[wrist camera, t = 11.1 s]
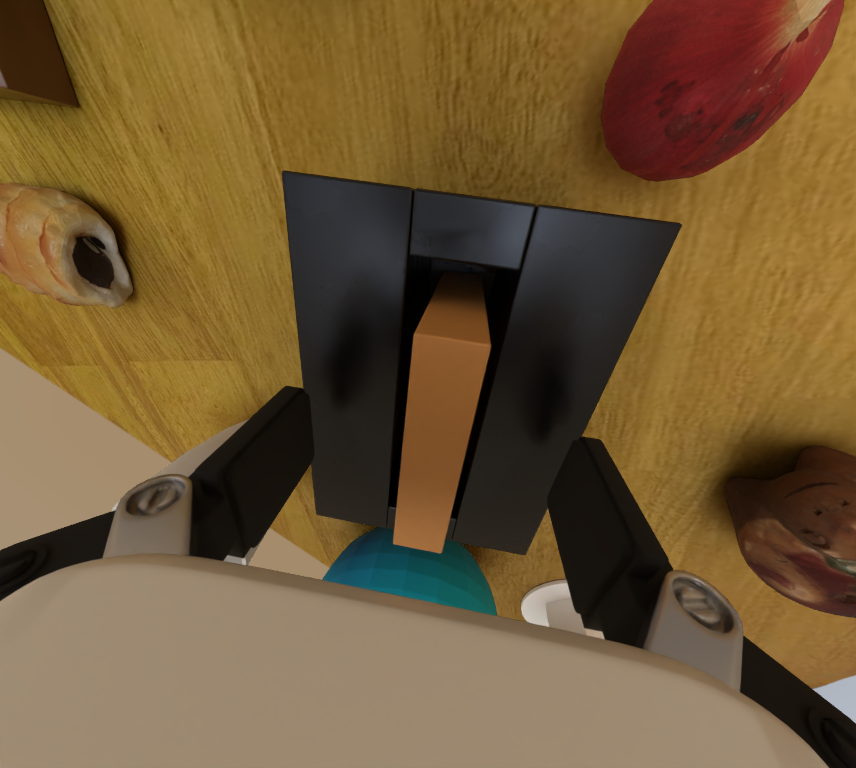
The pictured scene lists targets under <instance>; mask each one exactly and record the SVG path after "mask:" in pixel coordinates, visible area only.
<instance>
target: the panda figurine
mask: <svg viewBox="0 0 856 768" xmlns="http://www.w3.org/2000/svg"><path fill="white" fill-rule="evenodd" d="M521 611H522V614H523V616H524V618H525V619H526V621H527V622H529V623H533V624H538V625H542V626H547V627H552V628H557V629H561V630H566V631H570V632H574V633H579V634H583V635H587V636H592V637H596V638H600V639H604V636H603V633H602V632H601V631H596V630H591V629H586V628H584V626H583V623H582V619H581V615H580V614H577V613H576V611H575V610H574V607H573V603H572V600H571V596H570V592H569V588H568V584H567V580H557V581H552V582H548V583H544V584H541V585H539V586H537V587H535V588H533V589H531V590H530V591H529V592H528V593H526V594H525V596H524V597H523V599H522V601H521Z"/></svg>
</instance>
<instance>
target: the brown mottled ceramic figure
mask: <svg viewBox="0 0 856 768" xmlns="http://www.w3.org/2000/svg"><path fill="white" fill-rule="evenodd" d="M724 496H725V499H726V502H727V505H728V508H729V511H730V515H731V518H732V522H733V526H734V529H735V533H736V537H737V541H738V545H739V548H740V550H741V553H742V555H743V557H744V559H745V561H746V563H747V564H748V565H749V567H750V568H751V569H752V571H753V572H754V573H755V574H756V575H757V576H758V577H759V578H760V579H761V580H763V581H764V582H765V583H766V584H767V585H768V586H770V587H771V588H773V589H774V590H776V591H777V592H778V593H780V594H781V595H783V596H785V597H787V598H789V599H791V600H793V601H795V602H797V603H799V604H801V605H804V606H807V607H809V608H812V609H815V610H818V611H822V612H825V613H829V614H834V615H840V616H846V617H854V618H856V457H854V456H852V455H850V454H848V453H845V452H842V451H839V450H835V449H832V448H829V447H824V446H810V447H806V448H805V449H803V450H802V451H801V453H800V454H799V457H798V460H797V464H796V467H795V471H794V472H790V473H787V474H785V475H783V476H781V477H779V478H777V479H775V480H758V479H751V478H744V477H734V478H731V479H728V480H727V481H726V483H725V485H724Z"/></svg>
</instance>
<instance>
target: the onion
mask: <svg viewBox="0 0 856 768" xmlns="http://www.w3.org/2000/svg"><path fill="white" fill-rule="evenodd" d="M843 8H844V0H653V1H652V2H651V4H650V5H649V6H648V7H647V9H646V10H645V11H644V12H643V14H642V15H641V16H640V17H639V18H638V20H637V21H636V22H635V23H634V25H633V26H632V27H631V28H630V30H629V31H628V33H627V35H626V37H625V40H624V42H623V45H622V47H621V50H620V52H619V54H618V57H617V59H616V61H615V64H614V66H613V68H612V70H611V73H610V75H609V77H608V80H607V82H606V85H605V92H604V99H603V106H602V113H601V122H602V127H603V133H604V138H605V143H606V147H607V149H608V150H609V152H610V153H611V154H612V156H613V157H614V159H615V160H616V161H617V163H618V164H619V166H620V167H621V169H623V170H625V171H628V172H630V173H632V174H634V175H636V176H638V177H641V178H643V179H645V180H649V181H664V180H672V179H680V178H688V177H693V176H696V175H699V174H701V173H704V172H707V171H709V170H710V169H712V168H714V167H716V166H717V165H719V164H721V163H723V162H724V161H726V160H728V159H730V158H731V157H733V156H735V155H737V154H738V153H740V152H742V151H744V150H745V149H746V148H748V147H749V146H750V145H751V144H753V143H754V142H755V141H757V140H758V139H759V138H760V137H761V136H762V135H763V134H764V133H765V132H766V131H767V130H768V129H769V128H770V127H771V126H772V125H773V124H774V123H775V122H776V121H777V120H778V119H779V118H780V117H781V116H782V115H783V114H784V113H785V112H786V111H787V110H788V109H789V108H790V107H791V106H792V105H793V104H794V103H795V102H796V101H797V99H798V98H799V97H800V96H801V95H802V94H803V92H804V91H805V89H806V88H807V86H808V85H809V83H810V81H811V80H812V78H813V77H814V75H815V73H816V72H817V70H818V68H819V67H820V65H821V64H822V62H823V61H824V59H825V57H826V56H827V54H828V52H829V50H830V49H831V47H832V44H833V41H834V37H835V34H836V31H837V27H838V24H839V21H840V17H841V14H842V11H843Z"/></svg>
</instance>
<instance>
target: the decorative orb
mask: <svg viewBox="0 0 856 768" xmlns="http://www.w3.org/2000/svg"><path fill="white" fill-rule="evenodd" d="M393 537H394V530H392V529H388V528H387V527H386V528H382V527H377V528H375V529H373V530H371V531H369V532H367V533H365V534H364V535H362V536H360V537H358V538H357V539H356V540H354V541H353V542H352V543H351V544H350V545H349V546H348V547H347V548H346V549H345V550H344V551H343V552H342V553H341V554H340V556H339V557H338V558H337V559H336V561H335V562H334V563H333V564H332V566H331V567H330V569H329V570H328V572H327V573H326V575H325V576H324V577H323V580H324V581H329V582H334V583H339V584H344V585H349V586H354V587H359V588H364V589H369V590H374V591H379V592H384V593H389V594H394V595H398V596H403V597H408V598H413V599H418V600H423V601H428V602H433V603H437V604H442V605H447V606H452V607H457V608H462V609H466V610H471V611H476V612H481V613H485V614H490V615H495V616H497V612H496V606H495V602H494V599H493V595H492V592H491V589H490V587H489V585H488V582H487V580H486V578H485V576H484V574H483V573H482V571H481V569H480V567H479V566H478V564H477V562H476V561H475V559H474V558H473V556H472V555H471V553H470V552H469V551H468V550H467V549H466V548H465V547H464V546H463V545H462V544H461V543H459V542H453V541H452V539H451V541H449V540H445V542H444V546H443V550H442V553H436V552H431V551H425V550H420V549H415V548H410V547H405V546H400V545H395V544H393Z"/></svg>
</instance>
